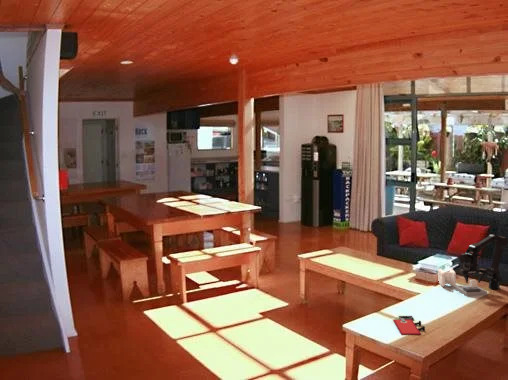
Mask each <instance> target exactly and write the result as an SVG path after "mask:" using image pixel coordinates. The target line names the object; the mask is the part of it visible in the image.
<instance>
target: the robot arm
mask: <svg viewBox="0 0 508 380" xmlns="http://www.w3.org/2000/svg"><path fill="white" fill-rule="evenodd" d="M493 242H494V244H495V250H494V255H493V258H492V262H491V265H490V267H487V268H486V269H485V268H481V267H480V268H478V267H479V265H480V264H479V257H481V254H479V253H480V252H481V251H482V249H483V248H485V247H486V246H488V245H489V244H492V243H493ZM507 246H508V238H507V237H505V236H501V235H496V234H489V235H488V236H487V237H485V238H483V239H482V240H480V241H479V242H475V243H471V244H470V245H469V246H468V247H467V249H466V250H465V252H464V253H461V255H460V257H459V262H460V263H461V264H462V268H461V269H459V271H458V272H459V273H460V274H461V275H462V276H463V277H464V280H465V283H466V284H469V276H470V275H469V274H478V275H477V276H478V277H477V278H478V279H477V284H480V283H481V282H482V279H483V278H484V276H487V279H488V280H489V282H488V288H489V289H491V290H501V287H500V286H501V285H500V283H501V282H503V278H502V277H501V276H500V269H499V267H500V264H501V259H502V256H503V252H504V249H505V248H506V247H507Z"/></svg>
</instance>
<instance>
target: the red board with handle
mask: <svg viewBox="0 0 508 380" xmlns="http://www.w3.org/2000/svg"><path fill="white" fill-rule="evenodd" d="M398 318H399V319H393V320H392V321H393V323H394V325H395V326H396V329H397V330H398V332H399V333H400V335H402V336H422V333H421V331H422V332H425V331H426V327H425V325H422V321H421V320H418V321H417V322H414V321H413V320H415V319H414V317H413V315H398ZM417 326H419V328H418V327H417ZM421 326H422V327H421Z"/></svg>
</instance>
